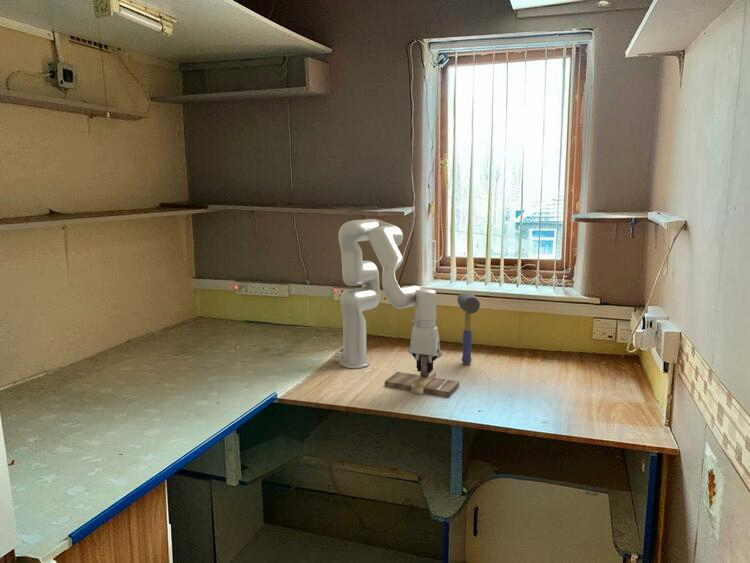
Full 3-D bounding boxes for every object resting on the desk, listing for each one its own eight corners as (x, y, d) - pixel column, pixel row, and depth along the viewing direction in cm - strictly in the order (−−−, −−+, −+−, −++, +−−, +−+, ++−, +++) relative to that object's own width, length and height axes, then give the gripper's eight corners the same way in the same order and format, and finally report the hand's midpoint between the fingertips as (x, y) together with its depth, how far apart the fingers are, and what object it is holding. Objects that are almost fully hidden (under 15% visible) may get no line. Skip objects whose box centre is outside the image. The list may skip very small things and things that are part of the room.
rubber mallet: (479, 368, 233) (481, 296, 227) (460, 369, 232) (462, 296, 227) (471, 359, 245) (474, 290, 240) (454, 359, 245) (456, 290, 239)
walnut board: (384, 386, 213) (384, 381, 212) (397, 376, 224) (397, 371, 223) (449, 397, 202) (449, 391, 202) (459, 386, 213) (459, 381, 213)
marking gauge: (411, 392, 206) (411, 360, 204) (425, 379, 220) (426, 349, 217) (421, 394, 204) (422, 362, 202) (435, 380, 218) (436, 350, 216)
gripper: (400, 322, 208) (400, 371, 212) (443, 328, 201) (442, 377, 205) (408, 318, 215) (407, 365, 218) (450, 323, 208) (449, 371, 211)
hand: (424, 370), depth 211 cm, fingers closed on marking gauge, 3 cm apart
